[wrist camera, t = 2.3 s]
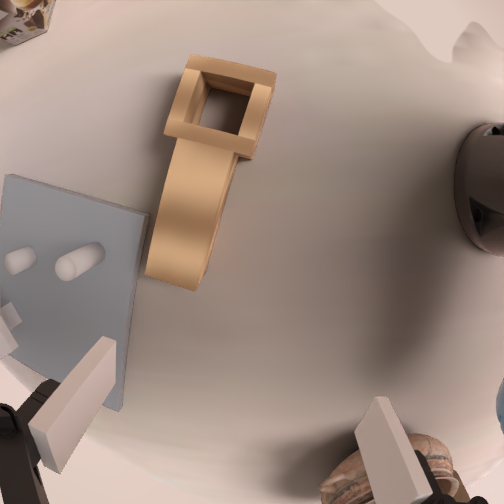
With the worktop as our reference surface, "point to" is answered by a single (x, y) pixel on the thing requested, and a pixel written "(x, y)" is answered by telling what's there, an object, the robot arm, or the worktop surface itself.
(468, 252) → the worktop surface
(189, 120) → the link
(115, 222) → the pintle base
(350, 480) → the cooking pot
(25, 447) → the robot arm
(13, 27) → the coffee box
